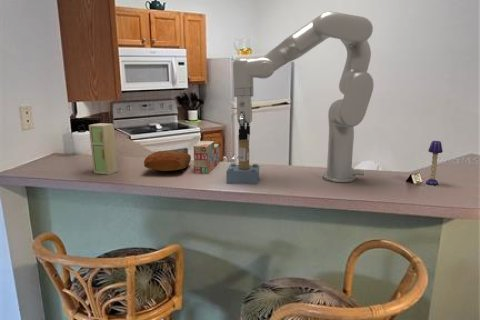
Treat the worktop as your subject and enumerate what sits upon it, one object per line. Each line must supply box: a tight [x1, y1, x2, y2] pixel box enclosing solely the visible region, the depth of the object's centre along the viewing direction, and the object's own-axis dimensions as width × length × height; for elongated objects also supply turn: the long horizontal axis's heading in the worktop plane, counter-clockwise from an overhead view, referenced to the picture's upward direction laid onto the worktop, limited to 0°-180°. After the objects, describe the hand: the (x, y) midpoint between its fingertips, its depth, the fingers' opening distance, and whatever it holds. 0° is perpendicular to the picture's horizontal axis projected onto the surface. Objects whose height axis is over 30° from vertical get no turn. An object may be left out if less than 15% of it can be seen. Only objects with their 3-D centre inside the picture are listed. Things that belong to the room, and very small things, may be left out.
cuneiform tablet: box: [143, 150, 192, 172], centre depth 155 cm, size 22×17×8 cm
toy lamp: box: [425, 140, 444, 187], centre depth 132 cm, size 5×5×17 cm
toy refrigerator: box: [88, 122, 119, 175], centre depth 150 cm, size 8×7×21 cm
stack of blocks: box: [193, 140, 221, 175], centre depth 159 cm, size 21×6×12 cm, turn 170°
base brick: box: [225, 162, 260, 185], centre depth 139 cm, size 12×10×6 cm
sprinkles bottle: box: [237, 134, 251, 169], centre depth 137 cm, size 5×5×14 cm
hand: (244, 137), depth 136 cm, fingers open, 9 cm apart
